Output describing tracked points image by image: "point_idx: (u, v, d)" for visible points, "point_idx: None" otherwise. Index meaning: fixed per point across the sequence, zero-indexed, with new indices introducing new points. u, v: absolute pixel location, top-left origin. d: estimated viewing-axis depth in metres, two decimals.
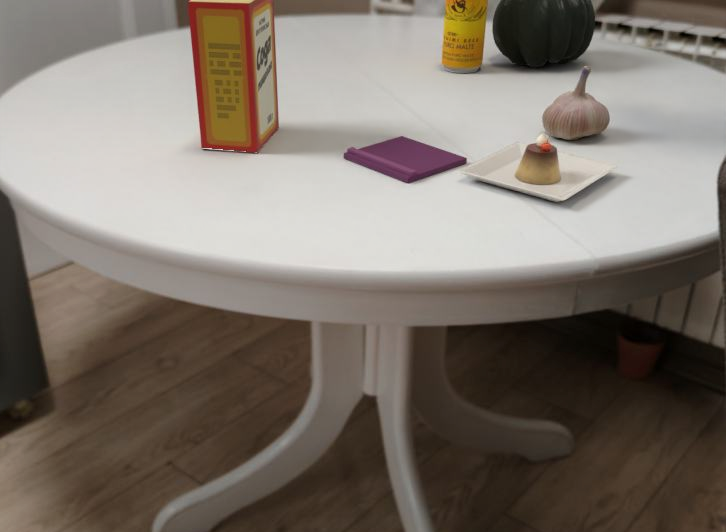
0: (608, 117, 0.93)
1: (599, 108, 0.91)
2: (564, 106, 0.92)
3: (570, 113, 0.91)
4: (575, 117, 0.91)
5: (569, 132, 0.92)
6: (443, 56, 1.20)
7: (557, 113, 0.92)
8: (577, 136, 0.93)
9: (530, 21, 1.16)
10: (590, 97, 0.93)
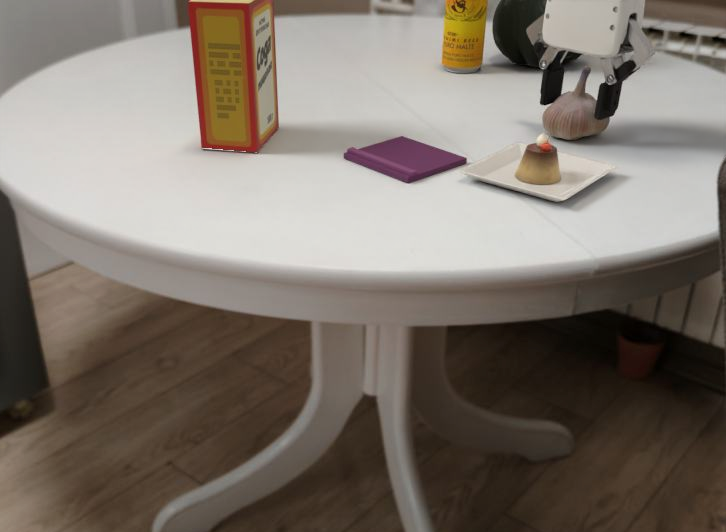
0: (608, 117, 0.93)
1: None
2: (564, 106, 0.92)
3: (570, 113, 0.91)
4: (575, 117, 0.91)
5: (569, 132, 0.92)
6: (443, 56, 1.20)
7: (557, 113, 0.92)
8: (577, 136, 0.93)
9: (530, 21, 1.16)
10: (590, 97, 0.93)
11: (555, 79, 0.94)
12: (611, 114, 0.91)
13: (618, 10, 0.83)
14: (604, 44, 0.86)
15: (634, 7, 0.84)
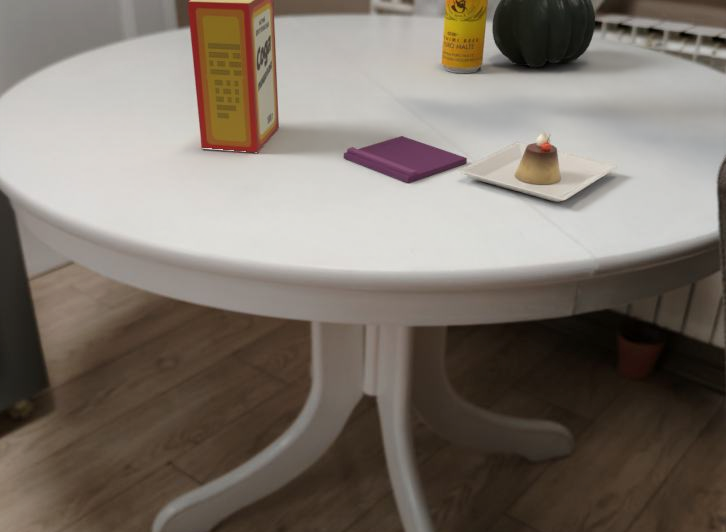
0: None
1: None
2: None
3: None
4: None
5: None
6: (443, 56, 1.20)
7: None
8: None
9: (530, 21, 1.16)
10: None
11: None
12: None
13: None
14: None
15: None
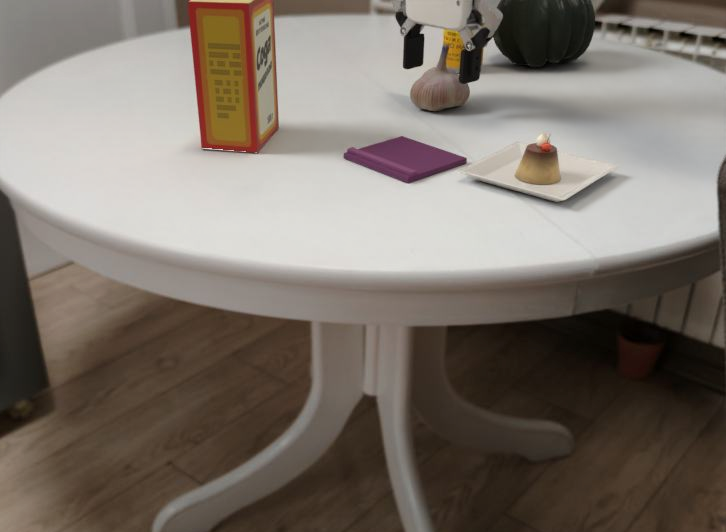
0: (467, 90, 1.02)
1: (458, 82, 1.01)
2: (427, 80, 1.02)
3: (430, 86, 1.01)
4: (436, 89, 1.01)
5: (431, 104, 1.01)
6: None
7: (420, 87, 1.02)
8: (439, 107, 1.03)
9: (530, 21, 1.16)
10: (452, 72, 1.03)
11: (415, 45, 1.04)
12: (475, 79, 1.00)
13: None
14: (453, 18, 0.95)
15: None
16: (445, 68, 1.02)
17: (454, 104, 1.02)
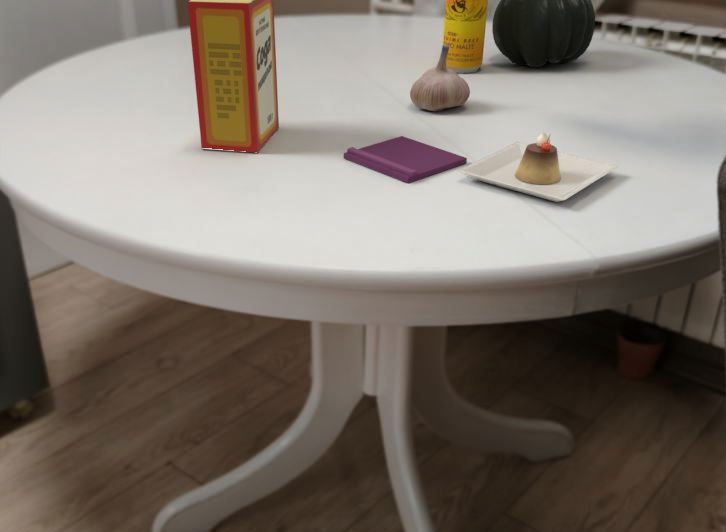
0: (467, 90, 1.02)
1: (458, 82, 1.01)
2: (427, 80, 1.02)
3: (430, 86, 1.01)
4: (436, 89, 1.01)
5: (431, 104, 1.01)
6: None
7: (420, 87, 1.02)
8: (439, 107, 1.03)
9: (530, 21, 1.16)
10: (452, 72, 1.03)
11: None
12: None
13: None
14: None
15: None
16: (445, 68, 1.02)
17: (454, 104, 1.02)
